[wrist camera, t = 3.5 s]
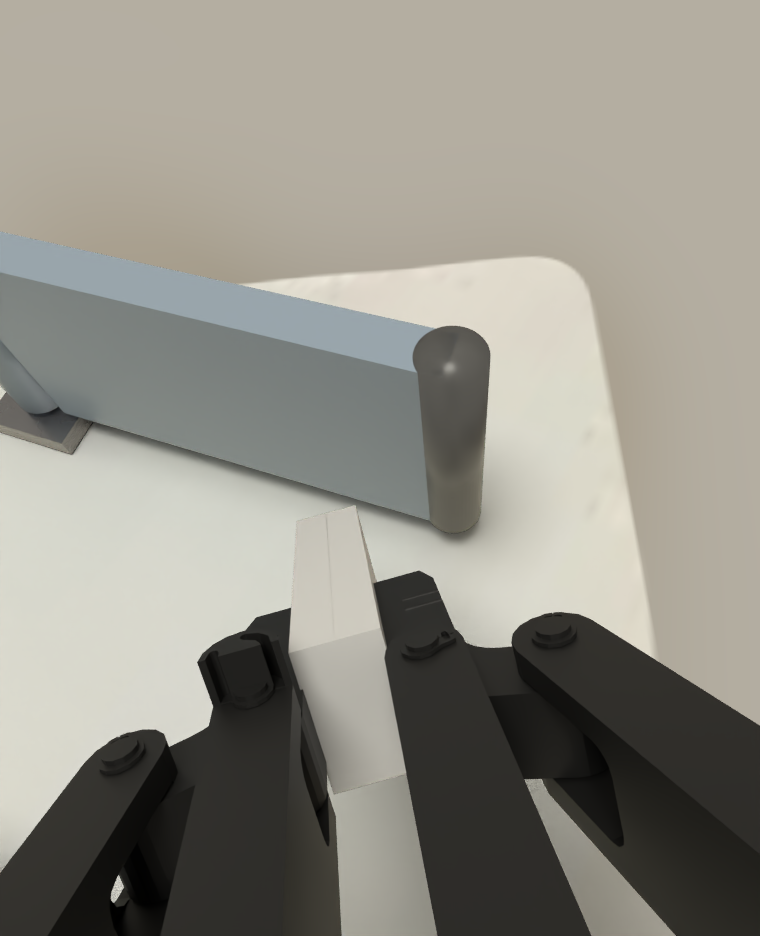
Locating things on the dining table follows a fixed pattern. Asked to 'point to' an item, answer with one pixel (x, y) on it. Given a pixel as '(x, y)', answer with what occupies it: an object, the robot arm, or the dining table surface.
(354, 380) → the blue-grey flat panel
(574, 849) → the dining table surface
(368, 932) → the dining table surface
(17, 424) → the arm mount
